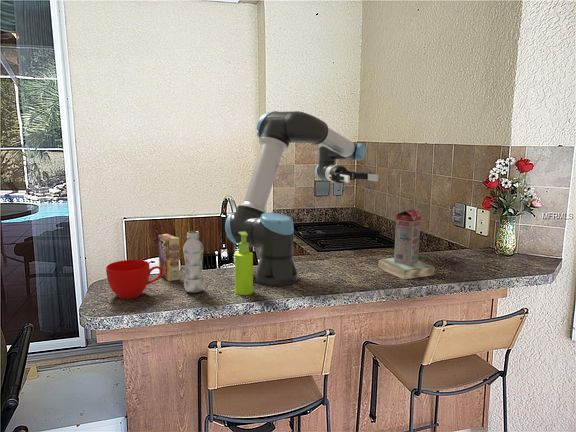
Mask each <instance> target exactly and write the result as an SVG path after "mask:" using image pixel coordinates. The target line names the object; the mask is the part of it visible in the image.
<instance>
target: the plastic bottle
mask: <svg viewBox="0 0 576 432" xmlns="http://www.w3.org/2000/svg"><path fill="white" fill-rule="evenodd" d="M199 238H200V232H199V231H196V230H191V231H190V230H189V231H187V233H186V239H187V240H186V241H185V243H184V244H183V246H182V252H183V258H184V264H185V265H184V266H185V271H184V272H185V273H184V274H185V275H184V281H183V287H184V290H185V291H186V292H188V293H193V294H195V293H199V292H200V293H201V292H202V291H203V290H204V289H205V285H206V284H205V283H206V282H205V277H204V272H203V258H204V245H203V244H202V242H201V241H200V240H199Z"/></svg>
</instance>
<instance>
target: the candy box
mask: <svg viewBox="0 0 576 432" xmlns="http://www.w3.org/2000/svg"><path fill="white" fill-rule="evenodd" d="M158 266H159V267H161V268H162V275H161V277H162V278H163V279H165V280H167V281H168V282H173V281H178V280H180V278H181V277H180V275H181V274H180V271H181V270H180V268H181V267H180V237H177V236H175V235H172V234H169V233H164V234H163V233H162V234H158ZM158 270H159V271H158V272H159V274H160V269H158ZM161 277H160V278H161Z"/></svg>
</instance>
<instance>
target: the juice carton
mask: <svg viewBox="0 0 576 432" xmlns="http://www.w3.org/2000/svg"><path fill="white" fill-rule="evenodd" d="M395 218H396V219H395V238H394V254H393V258H394V263H398V264H402V265H407V266H411V265H413V264H416V263H418V261H419V251H420V250H419V249H420V237H421V233H420V232H421V224H422V223H421V221H422V219H421V218H422V215H421V214H420V212H418V211H416V210H415V209H414V204H412V205H408V206H404V211H401V212H399V213H397V214H396V217H395Z"/></svg>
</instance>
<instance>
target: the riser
mask: <svg viewBox="0 0 576 432" xmlns="http://www.w3.org/2000/svg"><path fill="white" fill-rule="evenodd" d="M377 264H378V266H377V267H378V269H381V270H383V271H385V272H386V273H389V274H392V275H393V276H396V277H398V278H400V279H402V280H408V279H415V278H417V279H418V278H423V277H429V276H430V277H431V276H434V275H435V269H436V268H435V266H433V265H431V264H428V263H425V262H424V261H420V260H418V263H416V264H413V265H411V266H407V265H402V264H398V263H394V257H391V258H390V257H389V258H381V259H379V260H378V263H377Z"/></svg>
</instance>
